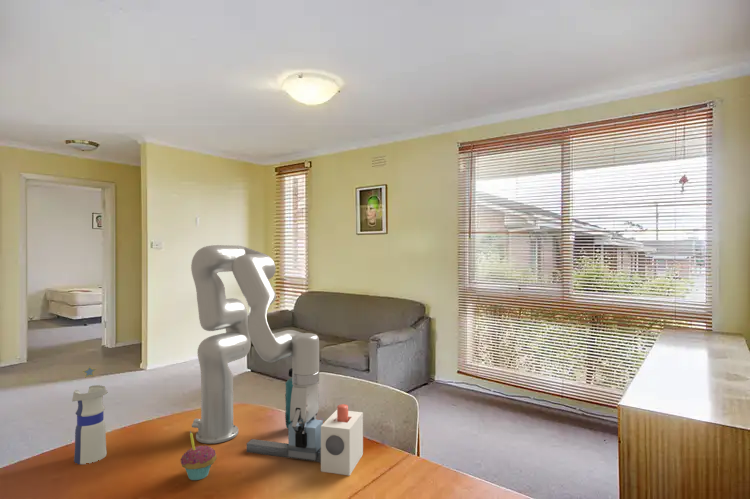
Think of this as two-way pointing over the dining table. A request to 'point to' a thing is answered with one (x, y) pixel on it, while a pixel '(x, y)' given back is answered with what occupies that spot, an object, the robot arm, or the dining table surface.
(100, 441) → the cream tall piece
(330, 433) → the cabinet
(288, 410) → the beverage bottle
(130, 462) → the dining table surface
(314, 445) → the carriage
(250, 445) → the rail
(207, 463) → the cupcake
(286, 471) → the dining table surface
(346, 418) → the button
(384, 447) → the dining table surface
